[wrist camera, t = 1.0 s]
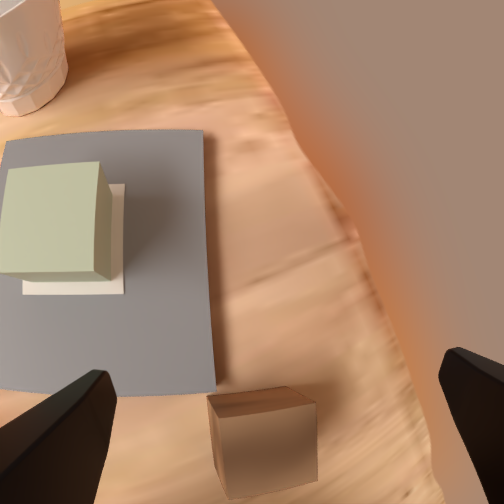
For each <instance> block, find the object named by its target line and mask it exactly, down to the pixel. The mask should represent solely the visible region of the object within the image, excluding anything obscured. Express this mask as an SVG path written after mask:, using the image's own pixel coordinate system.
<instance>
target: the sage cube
mask: <svg viewBox="0 0 504 504" xmlns="http://www.w3.org/2000/svg"><path fill="white" fill-rule="evenodd" d="M112 198H113V195H112V192H111V190H110V187H109V185H108V182H107V180H106V177H105V174H104V172H103V169H102V167H101V164H100V161H98V162H81V163H66V164H54V165H43V166H33V167H23V168H14V169H8V174H7V180H6V185H5V192H4V198H3V205H2V213H1V221H0V274H3V275H7V276H11V277H14V278H18V279H21V280H25V281H29V282H106V281H111V219H112Z"/></svg>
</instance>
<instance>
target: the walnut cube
mask: <svg viewBox="0 0 504 504" xmlns="http://www.w3.org/2000/svg"><path fill="white" fill-rule="evenodd" d="M207 406H208V415H209V424H210V433H211V441H212V449H213V457H214V465H215V468H216V471H217V473H218V476H219V478H220V481H221V483H222V486H223V488H224V491H225V493H226V495H227V498H228V500H232V499H239V498H245V497H250V496H256V495H261V494H266V493H271V492H275V491H280V490H284V489H288V488H292V487H296V486H300V485H304V484H308V483H311V482H315V481H318V462H317V417H316V402H314V401H312V400H310V399H308V398H306V397H304V396H303V395H301V394H299V393H297V392H295V391H293V390H291V389H290V388H288V387H286V386H284V387H277V388H271V389H264V390H257V391H249V392H241V393H233V394H223V395H213V396H207Z"/></svg>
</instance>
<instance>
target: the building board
mask: <svg viewBox="0 0 504 504" xmlns="http://www.w3.org/2000/svg"><path fill="white" fill-rule="evenodd" d="M98 161H100V164H101V167H102V169H103V172H104V174H105V177H106V180H107V182H108V185H109V187H110V190H111V192H112V195H113V198H112V219H111V281H106V282H29V281H25V280H21V279H18V278H14V277H11V276H7V275H3V274H0V389H5V390H13V391H21V392H31V393H42V394H55V393H56V392H58V391H59V390H61V389H63V388H64V387H66V386H67V385H69V384H70V383H72V382H74V381H75V380H77V379H78V378H80V377H81V376H83V375H84V374H86V373H88V372H89V371H91V370H93V369H99V370H106V371H108V373H109V374H110V377H111V380H112V383H113V386H114V389H115V391H116V395H117V397H131V396H164V395H182V394H196V393H208V392H217V390H216V379H215V368H214V356H213V343H212V330H211V316H210V301H209V285H208V268H207V248H206V225H205V197H204V156H203V130H121V131H101V132H85V133H72V134H61V135H51V136H42V137H34V138H26V139H19V140H12V141H6V145H5V149H4V153H3V158H2V162H1V167H0V221H1V213H2V205H3V198H4V192H5V185H6V180H7V174H8V169H14V168H23V167H33V166H43V165H54V164H66V163H81V162H98Z"/></svg>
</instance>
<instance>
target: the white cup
mask: <svg viewBox="0 0 504 504" xmlns="http://www.w3.org/2000/svg"><path fill="white" fill-rule="evenodd" d="M67 73H68V64H67V59H66V54H65V49H64V33H63V24H62V16H61V9H60V1H59V0H0V112H1V113H3V114H4V115H5V116H23V115H26V114H28V113H31V112H33V111H36V110H38V109H39V108H41V107H42V106H43V105H45V104H46V103H47V102H49V101H50V100H51V99H53V98H54V97H55V95H56V94H57V93H58V91H59V90H60V89H61V87H62V86H63V85H64V83H65V80H66V76H67Z"/></svg>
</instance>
